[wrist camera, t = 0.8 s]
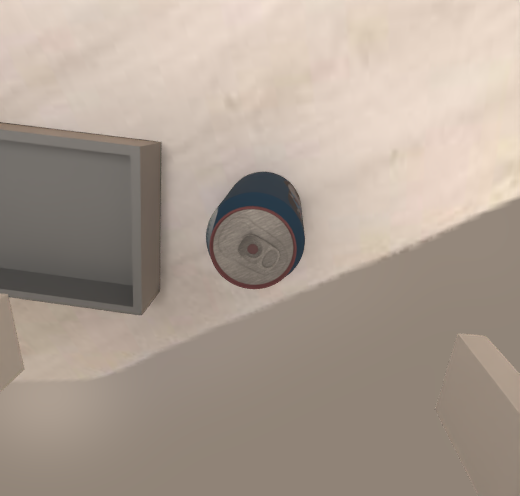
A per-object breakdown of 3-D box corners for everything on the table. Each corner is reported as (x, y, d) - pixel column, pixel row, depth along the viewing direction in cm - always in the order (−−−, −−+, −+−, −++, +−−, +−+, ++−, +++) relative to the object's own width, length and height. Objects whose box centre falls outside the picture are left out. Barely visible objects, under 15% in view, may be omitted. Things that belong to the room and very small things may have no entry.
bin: (-33, 264, 39) (-77, 285, 35) (-63, 114, 34) (-120, 114, 29) (159, 291, 39) (141, 315, 34) (161, 142, 33) (140, 146, 28)
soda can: (216, 216, 35) (181, 264, 24) (252, 155, 33) (232, 176, 22) (275, 252, 36) (269, 314, 25) (314, 195, 34) (327, 235, 22)
